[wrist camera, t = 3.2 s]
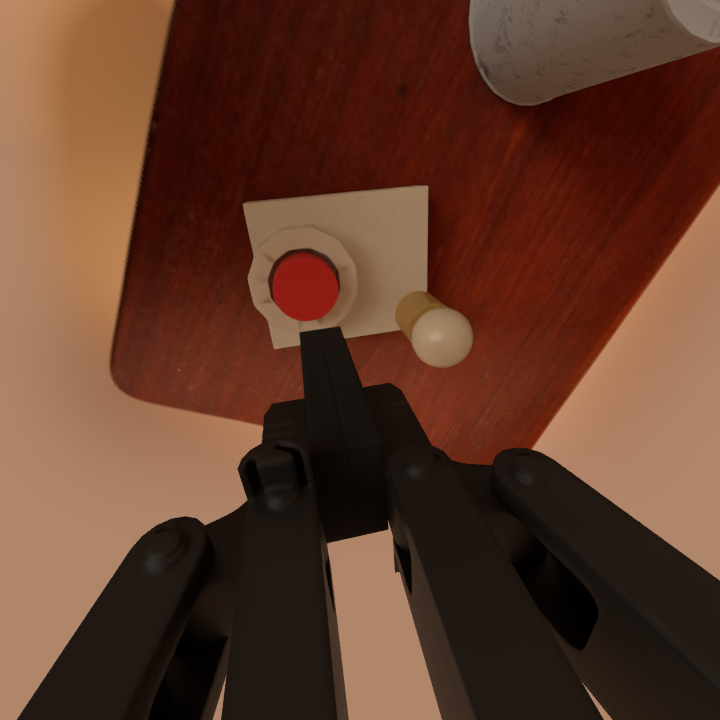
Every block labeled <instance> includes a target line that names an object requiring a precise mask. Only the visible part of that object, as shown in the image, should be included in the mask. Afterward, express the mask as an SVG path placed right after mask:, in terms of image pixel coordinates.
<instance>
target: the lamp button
mask: <svg viewBox="0 0 720 720" xmlns="http://www.w3.org/2000/svg"><path fill="white" fill-rule="evenodd" d="M273 296H274V299H275V302H276V304H277V306H278V307H279V308H280V310H281V311H282V312H283V313H285V314H286V315H287V316H289V317H291V318H293V319H295V320H299V321H313V320H317V319H319V318H321V317H323V316H325V315H326V314H327V313H328V312H329V311H330V310H331V309H332V308H333V306H334V305H335V303H336V300H337V297H338V282H337V279H336V277H335V274H334V273H333V271H332V269H331V267H330V266H329V264H328V263H327V262H326V261H325V260H324V259H322V258H321V257H319V256H317V255H315V254H312V253H307V252H300V253H295V254H292V255H290V256H288V257H286V258H285V259H284V260H283V261H282V262H281V263H280V264H279V265H278V267H277V269H276V271H275V274H274V279H273Z"/></svg>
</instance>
